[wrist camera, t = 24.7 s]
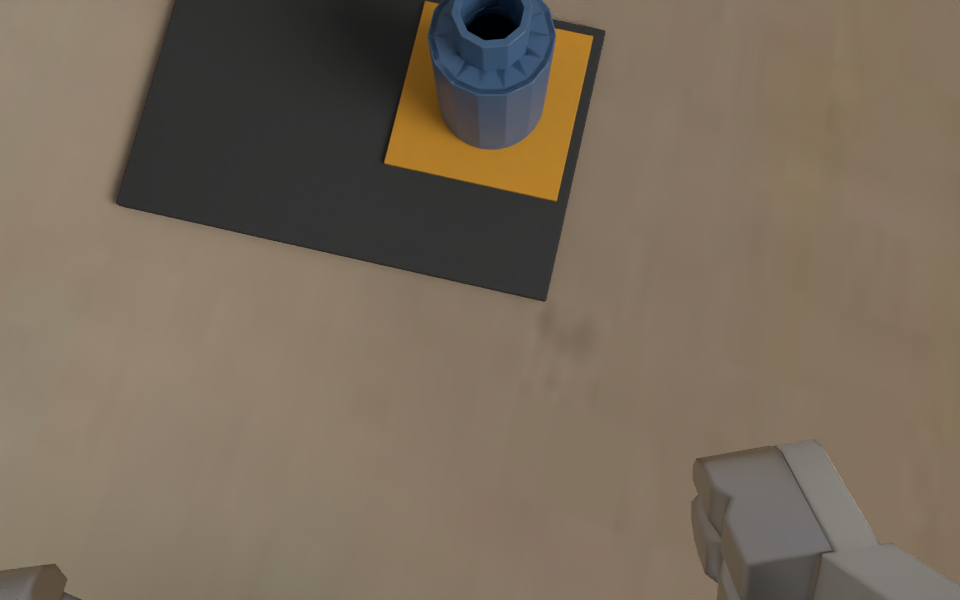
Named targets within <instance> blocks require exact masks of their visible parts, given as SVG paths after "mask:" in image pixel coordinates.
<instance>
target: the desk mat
mask: <svg viewBox="0 0 960 600" xmlns="http://www.w3.org/2000/svg"><path fill="white" fill-rule="evenodd" d="M441 1H442V0H176V3H175V6H174V9H173V13H172V16H171V20H170V23H169V26H168V30H167V33H166V36H165V40H164V43H163V47H162V50H161V53H160V57H159V60H158V63H157V67H156V70H155V74H154V77H153V80H152V84H151V87H150V90H149V94H148V97H147V100H146V104H145V107H144V111H143V114H142V117H141V121H140V124H139V127H138V131H137V134H136V138H135V141H134V144H133V148H132V151H131V154H130V158H129V161H128V165H127V168H126V171H125V175H124V178H123V181H122V185H121V188H120V192H119V195H118V198H117V202H116V204H118V205H119V206H123V207H127V208H132V209H136V210H141V211H145V212H149V213H154V214H158V215H163V216H167V217H172V218H176V219H181V220H185V221H189V222H194V223H198V224H203V225H207V226H212V227H216V228H220V229H225V230H229V231H234V232H238V233H243V234H247V235H252V236H256V237H260V238H265V239H269V240H274V241H278V242H283V243H287V244H291V245H296V246H300V247H305V248H309V249H314V250H318V251H322V252H327V253H331V254H336V255H340V256H345V257H349V258H354V259H358V260H362V261H367V262H371V263H376V264H380V265H385V266H389V267H393V268H398V269H402V270H407V271H411V272H416V273H420V274H425V275H429V276H433V277H438V278H442V279H447V280H451V281H456V282H460V283H464V284H469V285H473V286H478V287H482V288H487V289H491V290H496V291H500V292H504V293H509V294H513V295H518V296H522V297H527V298H531V299H535V300H540V301H546V298H547V293H548V289H549V284H550V280H551V275H552V271H553V266H554V262H555V257H556V253H557V248H558V244H559V239H560V235H561V230H562V226H563V221H564V217H565V212H566V208H567V203H568V199H569V194H570V190H571V185H572V181H573V176H574V171H575V167H576V162H577V158H578V153H579V149H580V144H581V140H582V135H583V131H584V126H585V122H586V117H587V113H588V108H589V104H590V99H591V95H592V90H593V86H594V81H595V77H596V72H597V68H598V63H599V59H600V54H601V50H602V45H603V41H604V36H605V31H604V30H600V29H595V28H590V27H585V26H581V25H576V24H571V23H566V22H562V21H557V20H553V24H554V28H555V32H556V41H555V47H554V53H553V59H552V64H551V70H550V76H549V82H548V88H547V94H546V99H545V103H544V108H543V112H542V116H541V118H540V120H539V122H538V124H537V126H536V127H535V129H534V130H533V131H532V132H531V133H530V134H529V135H528V136H527V137H526V138H525V139H523V140H522V141H520V142H519V143H517V144H515V145H512V146H510V147H507V148H503V149H495V150H488V149H480V148H477V147H473V146H471V145H469V144H466V143H465V142H463V141H461V140H460V139H459V138H458V137H456V136H455V135H454V134H453V133H452V132H451V131H450V129H449V128H448V127H447V125H446V123H445V121H444V119H443V117H442V114H441V110H440V105H439V101H438V96H437V91H436V85H435V79H434V73H433V67H432V61H431V55H430V49H429V43H428V31H429V27H430V23H431V19H432V15H433V11H434V9H435V8H436V7H437V6H438V4H439V3H440V2H441Z"/></svg>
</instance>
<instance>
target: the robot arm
mask: <svg viewBox="0 0 960 600" xmlns="http://www.w3.org/2000/svg"><path fill="white" fill-rule="evenodd" d="M693 481H694V484H695V486H696V489H697V492H698V495H697V496H696V497H695V498H694V499H693V501H692V502H691V520H692V527H693V534H694V540H695V544H696V547H697V551H698V555H699V558H700V561H701V563H702V566H703V569H704V572H705V574H706V575H707V576H709V577H710V578H711V579H713V580H714V581H715V582H717V583H718V593H717V600H960V585H958V584H957V583H955V582H954V581H952V580H950V579H949V578H947V577H946V576H944V575H943V574H941V573H939V572H938V571H936V570H935V569H933V568H931V567H930V566H928V565H927V564H925V563H924V562H922V561H920V560H919V559H917V558H916V557H914V556H912V555H911V554H909V553H908V552H906V551H905V550H903V549H901V548H900V547H898V546H897V545H895V544H894V543H887V544H880V543H879V541H878V540H877V538H876V536H875V535H874V533H873V531H872V530H871V528H870V526H869V524H868V523H867V521H866V519H865V518H864V516H863V514H862V513H861V511H860V509H859V508H858V506H857V504H856V502H855V501H854V499H853V497H852V496H851V494H850V492H849V491H848V489H847V487H846V486H845V484H844V482H843V480H842V479H841V477H840V475H839V474H838V472H837V470H836V469H835V467H834V465H833V464H832V462H831V460H830V458H829V457H828V455H827V453H826V452H825V450H824V448H823V447H822V445H821V444H820V443H818V442H817V441H816V440H807V441H801V442H795V443H789V444H782V445H776V446H773V447H772V446H766V447H760V448H754V449H748V450H743V451H737V452H731V453H725V454H720V455H714V456H708V457H703V458H697V459H696V460H695V462H694V465H693ZM66 582H67V578H66V577H65V576H64V574H63V573H62V572H61V570H60V569H59V568H58V567H57V565H56V564H50V565H41V566H33V567H26V568H18V569H11V570H4V571H0V600H81V599H79V598H76V597H74V596H72V595H70V594H67V593H65V592H63V591H64V588H65V585H66Z"/></svg>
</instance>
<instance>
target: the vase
mask: <svg viewBox="0 0 960 600" xmlns="http://www.w3.org/2000/svg"><path fill="white" fill-rule="evenodd" d="M555 41H556V32H555V28H554V24H553V20H552V16H551V12H550V9H549V8H548V6H547V5H546V4H545V3H544V2H543V1H542V0H442V1H441V2H440V3H439V4H438V6H437V7H436V8H435V9H434V11H433V15H432V19H431V23H430V27H429V31H428V43H429V49H430V55H431V61H432V67H433V73H434V79H435V85H436V91H437V96H438V101H439V105H440V110H441V114H442V117H443V119H444V121H445V123H446V125H447V127H448V128H449V129H450V131H451V132H452V133H453V134H454V135H455V136H456V137H458V138H459V139H460V140H461V141H463V142H465V143H466V144H469V145H471V146H473V147H477V148H480V149H488V150H495V149H503V148H507V147H510V146H512V145H515V144H517V143H519V142H520V141H522V140H523V139H525V138H526V137H527V136H528V135H529V134H530V133H531V132H532V131H533V130H534V129H535V127H536V126H537V124H538V122H539V120H540V118H541V116H542V112H543V108H544V103H545V99H546V94H547V88H548V82H549V76H550V70H551V64H552V59H553V53H554V47H555Z"/></svg>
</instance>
